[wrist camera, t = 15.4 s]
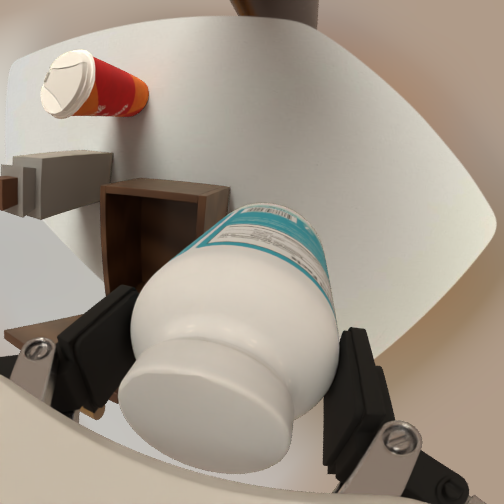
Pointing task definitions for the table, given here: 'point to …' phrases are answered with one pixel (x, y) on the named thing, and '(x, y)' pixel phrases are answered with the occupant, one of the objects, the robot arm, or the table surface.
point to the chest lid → (52, 331)
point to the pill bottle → (233, 343)
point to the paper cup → (91, 88)
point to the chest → (153, 225)
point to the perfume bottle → (53, 182)
